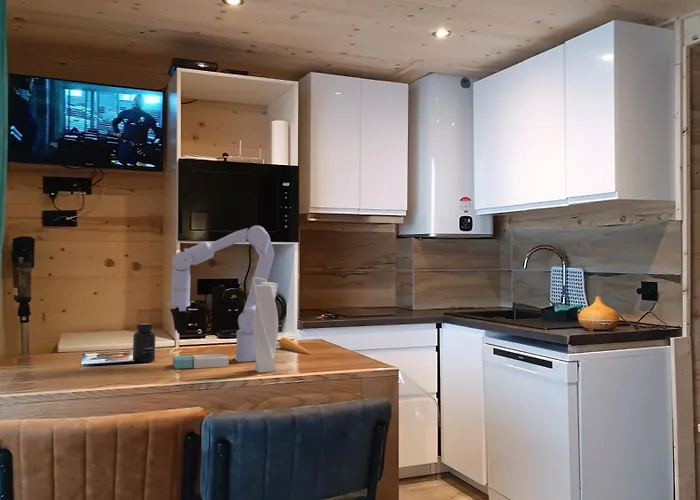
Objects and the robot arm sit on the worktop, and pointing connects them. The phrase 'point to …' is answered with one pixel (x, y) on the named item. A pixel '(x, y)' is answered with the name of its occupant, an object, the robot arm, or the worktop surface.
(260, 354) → the skyscraper
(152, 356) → the supplement bottle
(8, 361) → the worktop surface
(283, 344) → the carrot
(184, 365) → the stub
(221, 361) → the gray rectangular block
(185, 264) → the robot arm
